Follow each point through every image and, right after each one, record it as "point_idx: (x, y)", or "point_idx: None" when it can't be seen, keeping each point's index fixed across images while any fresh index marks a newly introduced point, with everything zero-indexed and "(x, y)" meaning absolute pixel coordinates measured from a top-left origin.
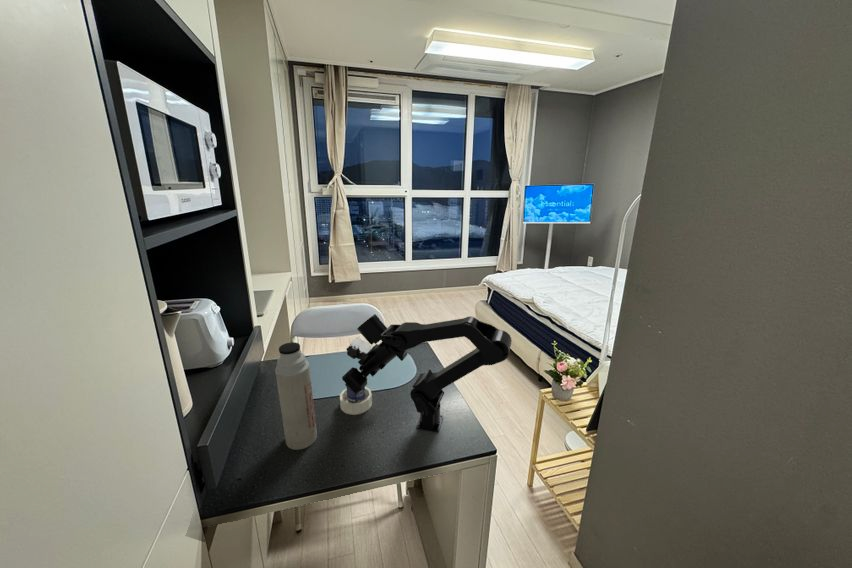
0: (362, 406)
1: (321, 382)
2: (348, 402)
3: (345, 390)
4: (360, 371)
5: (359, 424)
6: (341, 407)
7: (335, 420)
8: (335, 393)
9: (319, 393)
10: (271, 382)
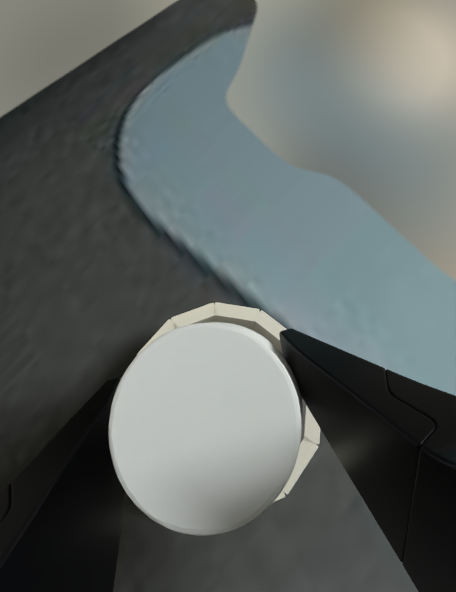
0: None
1: (241, 162)
2: None
3: (216, 313)
4: (277, 477)
5: None
6: None
7: (83, 401)
8: (224, 255)
9: (186, 207)
10: (140, 57)
